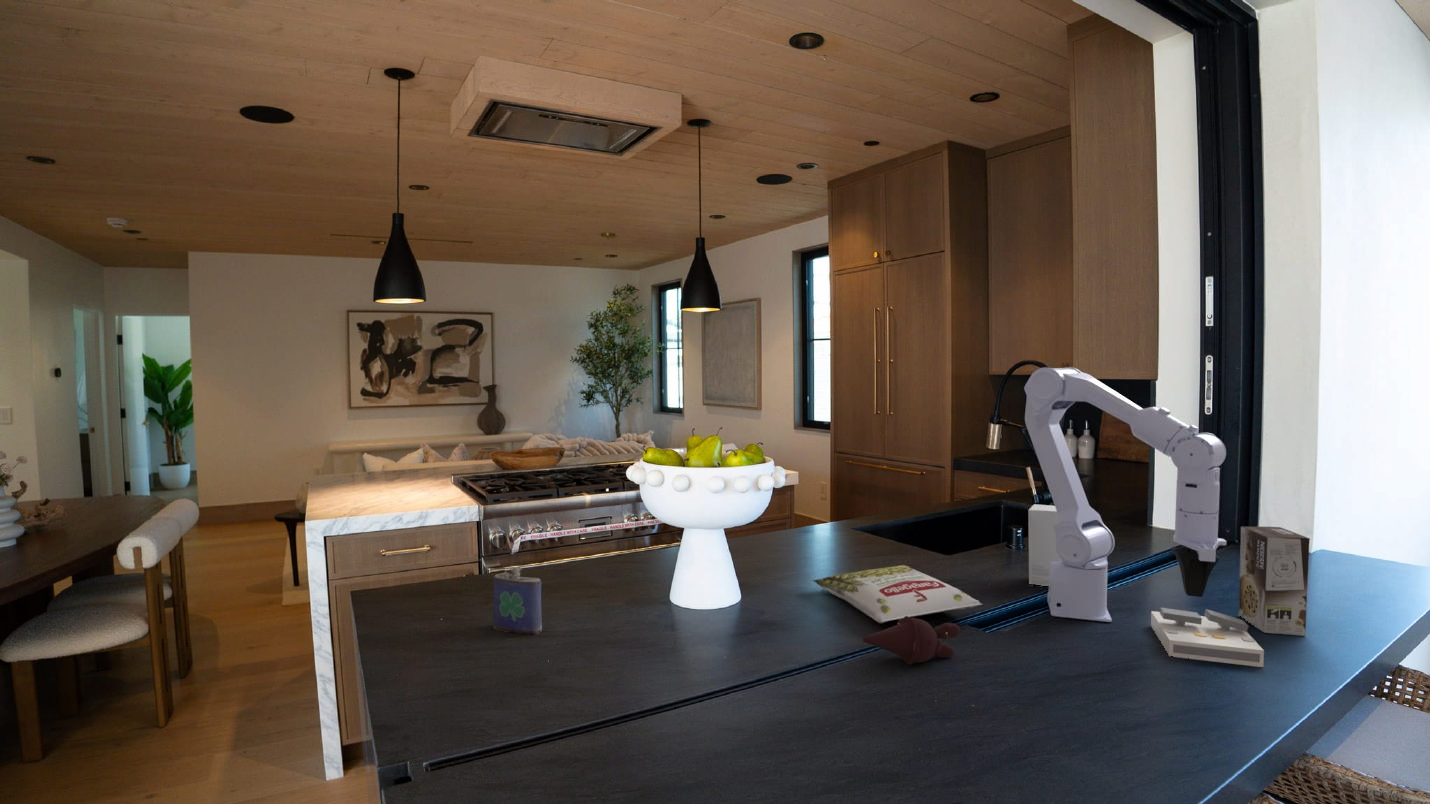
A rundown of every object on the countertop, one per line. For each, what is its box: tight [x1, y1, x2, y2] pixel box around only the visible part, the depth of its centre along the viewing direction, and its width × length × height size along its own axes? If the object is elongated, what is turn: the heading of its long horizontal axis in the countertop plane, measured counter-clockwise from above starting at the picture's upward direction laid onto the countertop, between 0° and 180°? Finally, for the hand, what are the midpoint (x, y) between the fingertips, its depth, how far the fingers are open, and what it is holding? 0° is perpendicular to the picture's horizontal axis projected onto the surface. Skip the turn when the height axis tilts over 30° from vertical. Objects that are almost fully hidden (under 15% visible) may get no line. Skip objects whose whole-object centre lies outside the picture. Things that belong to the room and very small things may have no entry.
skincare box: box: [1027, 503, 1062, 587], centre depth 150 cm, size 8×7×16 cm
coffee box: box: [1238, 525, 1311, 637], centre depth 127 cm, size 9×6×16 cm
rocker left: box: [1159, 607, 1202, 626], centre depth 120 cm, size 5×3×2 cm, turn 70°
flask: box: [492, 566, 543, 636], centre depth 126 cm, size 9×3×11 cm, turn 68°
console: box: [1150, 610, 1265, 668], centre depth 118 cm, size 12×14×3 cm
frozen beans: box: [812, 564, 983, 625], centre depth 138 cm, size 21×6×25 cm
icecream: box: [862, 616, 961, 666], centre depth 112 cm, size 7×7×15 cm
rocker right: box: [1203, 608, 1250, 633], centre depth 118 cm, size 5×3×2 cm, turn 70°
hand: (1193, 595), depth 119 cm, fingers closed
